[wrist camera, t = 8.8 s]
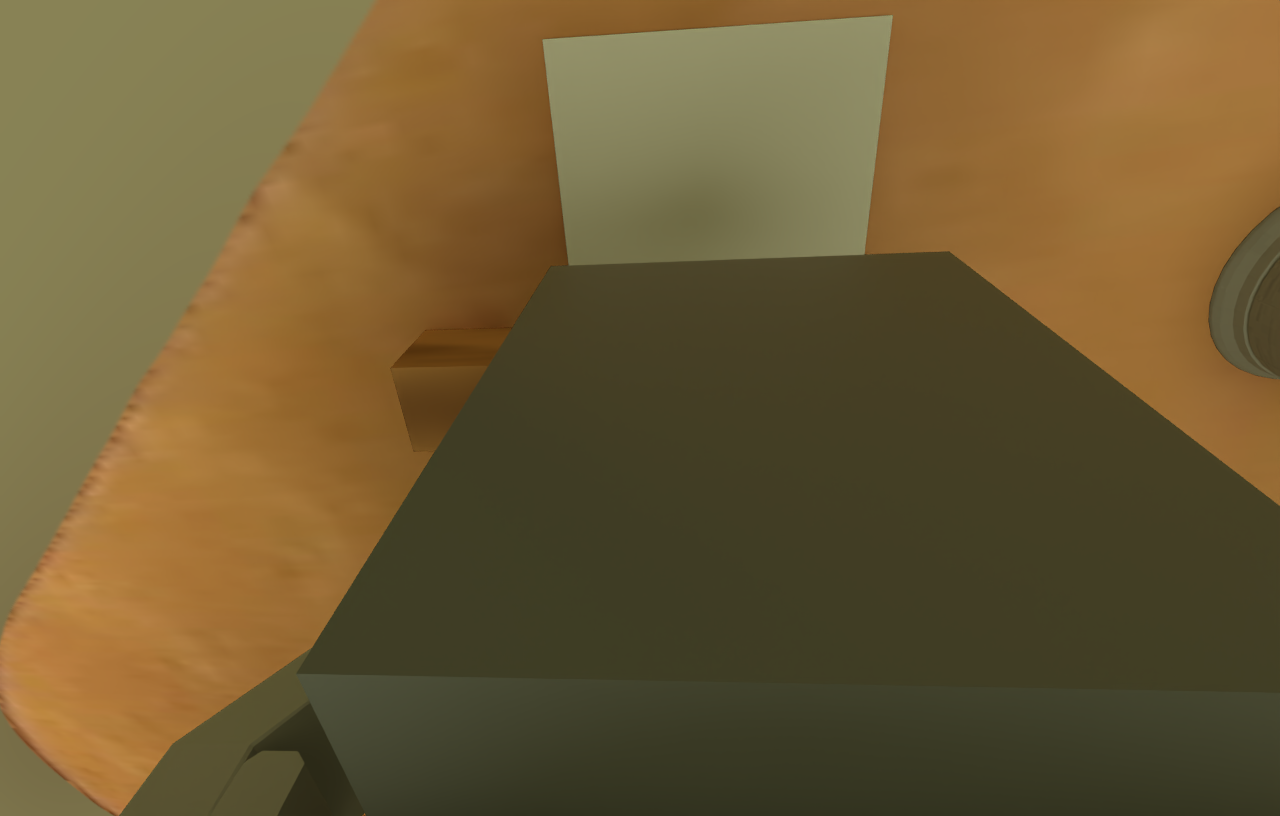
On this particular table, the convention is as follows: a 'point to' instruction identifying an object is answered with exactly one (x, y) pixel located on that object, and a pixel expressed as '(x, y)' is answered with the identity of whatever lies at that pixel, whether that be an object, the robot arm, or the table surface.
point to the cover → (808, 568)
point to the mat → (718, 140)
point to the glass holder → (1250, 302)
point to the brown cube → (441, 379)
